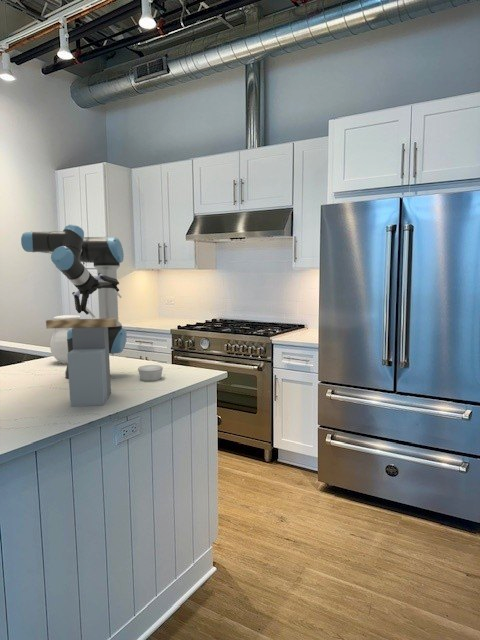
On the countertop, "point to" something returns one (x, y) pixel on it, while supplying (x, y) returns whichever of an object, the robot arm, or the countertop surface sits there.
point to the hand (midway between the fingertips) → (106, 305)
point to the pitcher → (61, 340)
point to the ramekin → (150, 372)
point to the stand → (89, 367)
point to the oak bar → (81, 323)
